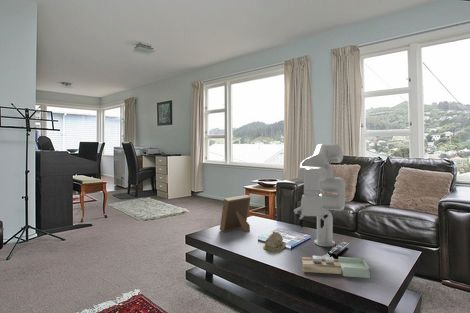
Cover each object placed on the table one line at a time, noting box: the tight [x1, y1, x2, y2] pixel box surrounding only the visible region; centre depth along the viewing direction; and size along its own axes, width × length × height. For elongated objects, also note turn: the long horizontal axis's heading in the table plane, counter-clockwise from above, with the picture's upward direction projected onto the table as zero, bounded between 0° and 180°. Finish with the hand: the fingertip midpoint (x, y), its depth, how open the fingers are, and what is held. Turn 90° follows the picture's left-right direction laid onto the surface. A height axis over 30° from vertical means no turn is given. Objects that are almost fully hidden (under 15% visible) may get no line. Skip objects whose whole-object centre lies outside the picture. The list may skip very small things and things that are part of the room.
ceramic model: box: [262, 231, 287, 253], centre depth 170 cm, size 14×11×10 cm
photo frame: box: [219, 194, 252, 233], centre depth 204 cm, size 15×22×25 cm
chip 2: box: [325, 256, 335, 265], centre depth 139 cm, size 4×4×3 cm
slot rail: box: [301, 256, 342, 275], centre depth 140 cm, size 8×18×4 cm, turn 80°
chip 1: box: [312, 255, 322, 264], centre depth 140 cm, size 4×4×3 cm
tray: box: [338, 256, 371, 279], centre depth 138 cm, size 12×12×4 cm
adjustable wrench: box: [320, 245, 336, 259], centre depth 158 cm, size 25×6×2 cm, turn 139°
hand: (311, 227), depth 138 cm, fingers open, 9 cm apart
